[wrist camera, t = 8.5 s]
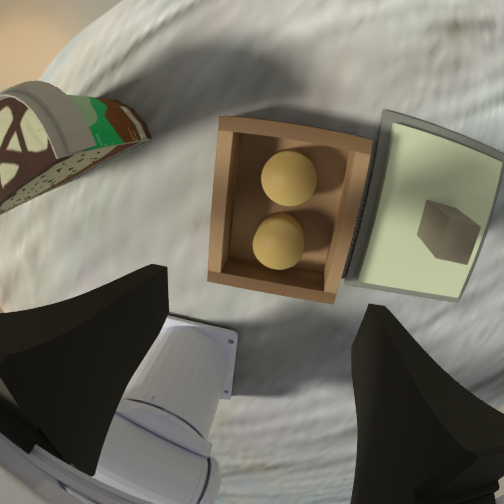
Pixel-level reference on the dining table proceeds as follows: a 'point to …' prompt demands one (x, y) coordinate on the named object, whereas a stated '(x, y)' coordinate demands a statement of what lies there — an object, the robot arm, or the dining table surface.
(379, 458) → the robot arm
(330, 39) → the dining table surface
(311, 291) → the box
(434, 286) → the lid
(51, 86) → the food container
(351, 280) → the mat
